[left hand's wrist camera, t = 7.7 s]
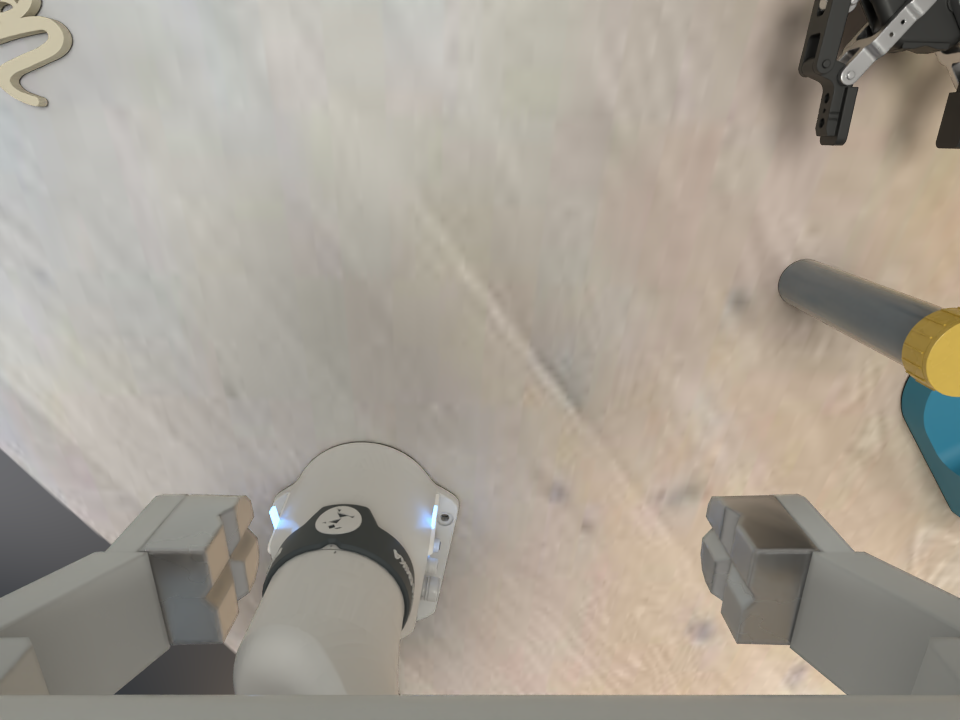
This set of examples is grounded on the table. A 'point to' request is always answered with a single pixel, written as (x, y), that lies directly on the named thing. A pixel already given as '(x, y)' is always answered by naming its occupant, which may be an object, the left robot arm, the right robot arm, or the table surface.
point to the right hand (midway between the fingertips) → (891, 146)
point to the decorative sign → (58, 44)
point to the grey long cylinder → (854, 305)
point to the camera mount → (936, 435)
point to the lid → (935, 352)
